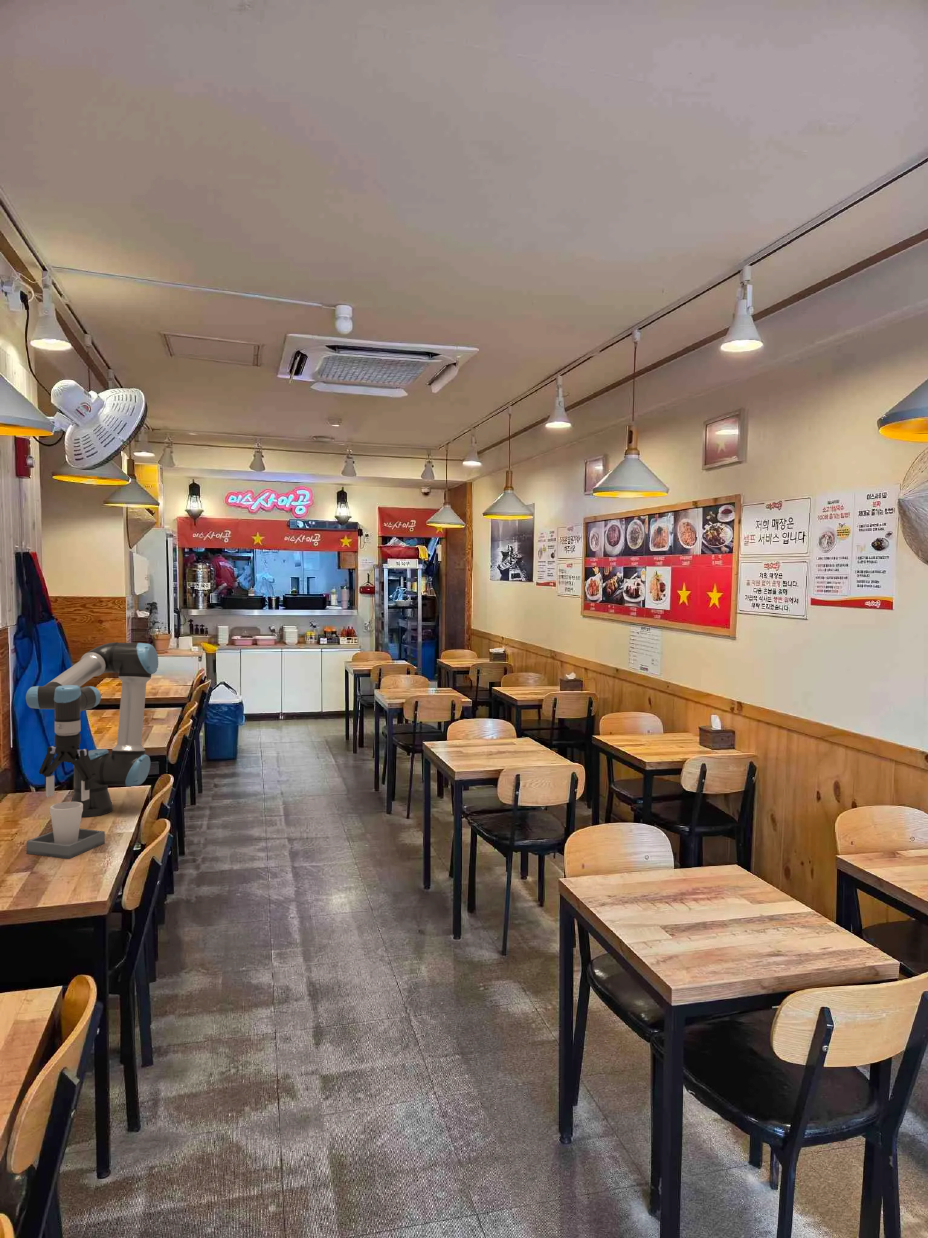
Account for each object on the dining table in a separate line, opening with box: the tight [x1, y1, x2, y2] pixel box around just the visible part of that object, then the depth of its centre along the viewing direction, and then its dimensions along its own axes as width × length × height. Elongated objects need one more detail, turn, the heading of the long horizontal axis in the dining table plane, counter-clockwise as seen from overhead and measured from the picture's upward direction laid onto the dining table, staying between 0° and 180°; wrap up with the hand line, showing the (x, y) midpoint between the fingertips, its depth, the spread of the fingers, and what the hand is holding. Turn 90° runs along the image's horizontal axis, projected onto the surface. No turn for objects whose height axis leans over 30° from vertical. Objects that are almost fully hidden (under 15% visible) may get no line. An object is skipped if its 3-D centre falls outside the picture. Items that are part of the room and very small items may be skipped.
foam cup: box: [49, 801, 83, 845], centre depth 248 cm, size 10×9×13 cm
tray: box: [25, 828, 106, 860], centre depth 248 cm, size 16×16×4 cm
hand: (67, 798), depth 248 cm, fingers open, 13 cm apart
